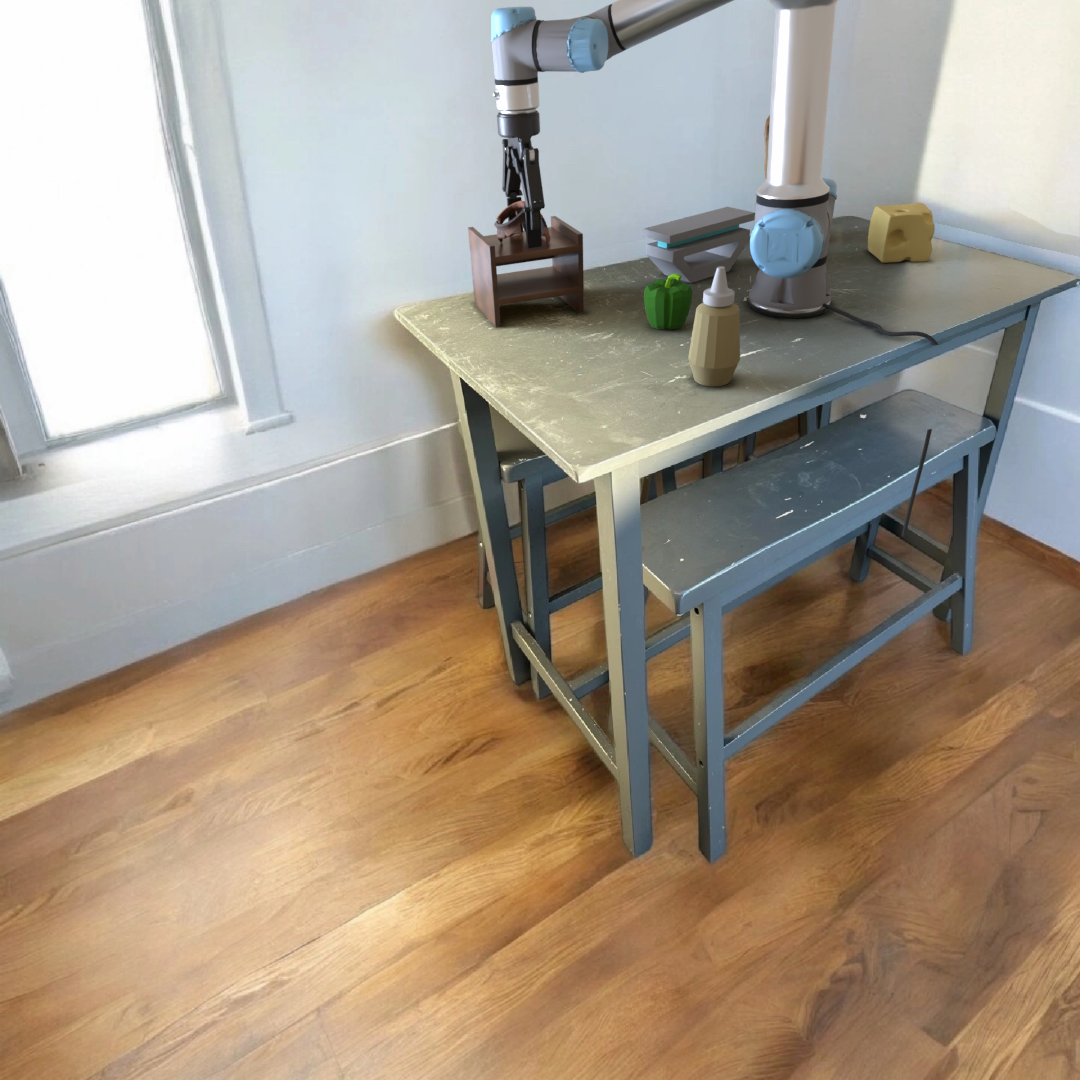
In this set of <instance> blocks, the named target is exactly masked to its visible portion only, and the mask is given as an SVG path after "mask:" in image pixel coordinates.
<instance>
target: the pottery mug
mask: <svg viewBox="0 0 1080 1080" xmlns="http://www.w3.org/2000/svg"><path fill="white" fill-rule="evenodd" d="M525 207H526V203H525V200H522V201H518V202H515V203H513V204H511V205H509V206H508V207H507V206H506V207H505V208H504V209H503V210H502V211H501V212H500V213H499V214H498V215H497V216H496V221H495V222H494V224H493V225H494V227H495V228H496V234H497V239H498V240H499V241H500V242H501V243H502V241H503V239H506V238H507V237H511V236H512V235H514V234H519V235H522V232H521V224H522V226H523V231H525V232H526V223H525V212H523V209H524V208H525ZM515 211H516V217H515V218H513V219H512V220H510V221H508V217H509V216H511V215H512V214H514V212H515ZM540 215H541V236H545V237H546V242H547V243H549V242H550V235H549V230H548V227H549V226H548V224H547V221H546V219H545V217H544V215H543V214H542V212H540ZM506 220H507V221H506ZM505 221H506V222H505Z"/></svg>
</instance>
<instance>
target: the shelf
mask: <svg viewBox="0 0 1080 1080" xmlns="http://www.w3.org/2000/svg"><path fill="white" fill-rule="evenodd" d="M547 227H548V230H549V235H550V242H549V243H547V242H546V237H545V236H541V237H542V246H541V247H534V248H527V242H526V232H525V231H524V230H523V233H522V235H519V234H514V235H512V236H511V237H507V238H506V239H503V241H502V243H501V242H500V241H499V240H498V239H497V233H496V234H488V235H483V234H482V233H481V232H480V231H478V230H477V229H476V228H475V227H473V226H468V227H467V232H468V242H469V255H470V265H471V277H472V287H473V299H474V304H475V306H476V307H477V308H478V309H479V310H480V311H481V313H483V315H484V316H485V317H486V318H487V319H488V320H489V321H490V323H491V324H492V325H493V326H494V327H495V328H500V327H501V326H502V325H501V313H500V312H501V311H500V306H506V305H513V304H519V303H524V302H525V303H527V302H531V301H538V300H545V299H551V298H557V297H559V298H561V299H562V300H563V301H564V302H565V303H566V304H567V305H569V307H571V308H572V309H573V310H574V311H576V313H578V314H584V313H585V292H584V291H585V289H584V288H585V287H584V286H585V285H584V283H585V282H584V280H585V279H584V278H585V277H584V233H583V232H581V231H579V230H578V229H577V228H575V227H573V226H572V225H570V224H568V223H567V222H565V221H564V220H562V219H561V218H560V217H558V216H556V215H551V216H550V226H547ZM550 259H551V262H552V263H551V264H552V265H551V266H545V267H539V268H531V269H525V270H518V271H517V270H516V271H511V272H505V273H498V272H497V271H498V270H497V267H501V266H509V265H517V264H522V263H530V262H536V261H543V260H550Z"/></svg>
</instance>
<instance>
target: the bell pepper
mask: <svg viewBox="0 0 1080 1080" xmlns="http://www.w3.org/2000/svg"><path fill="white" fill-rule="evenodd" d="M681 277H682V276H681V275H679V274H674V273H673V274H671V275H670V276H667V278H666V279H662V278H658V279H656V280H654V281H652V283H649V284H646V286H645V287H644V291H643V304H644V310H645V314H646V318H647V322H648V323H649V325H650V326H651V328H653V329H656V330H665V329H668V330H677V329H681V328H682V327H683V326H684V324H685V323H686V321H687V318H688V316H689V312H690V309H691V305H692V300H693V290H692V288H691V285H690V284H687V283H684V282H683V281H682V280H680V279H681Z"/></svg>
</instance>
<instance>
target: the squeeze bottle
mask: <svg viewBox="0 0 1080 1080" xmlns="http://www.w3.org/2000/svg"><path fill="white" fill-rule="evenodd" d="M728 286H729V285H728V280H727V272H725V267H722V266H719V267H717V269H716V273H715V276H713V279H712V283H711V286H710V287H708V288H706V289H705V290H703V294H702V303H700V304H698V305H697V307H696V308H695V313H694V314H695V315H694V321H693V325H692V326H693V327H692V332H691V339H690V345H689V349H688V350H689V351H688V357H687V359H688V362H689V365H690V369H691V373H692V376H693V379H694V382H696V383H698V384H699V385H701V386H706V387H722V386H725V385H727V384H729V383H731V381H732V378H733V376H734V374H735V372H736V370H737V367H738V365H739V362H740V360H741V327H740V326H741V325H740V324H741V322H740V319H741V317H740V308H739V306H738V305H737V304H736V303H735V296H736V295H735V294H736V292H735V291H734V290H733V289H731V288H729V287H728Z"/></svg>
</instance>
